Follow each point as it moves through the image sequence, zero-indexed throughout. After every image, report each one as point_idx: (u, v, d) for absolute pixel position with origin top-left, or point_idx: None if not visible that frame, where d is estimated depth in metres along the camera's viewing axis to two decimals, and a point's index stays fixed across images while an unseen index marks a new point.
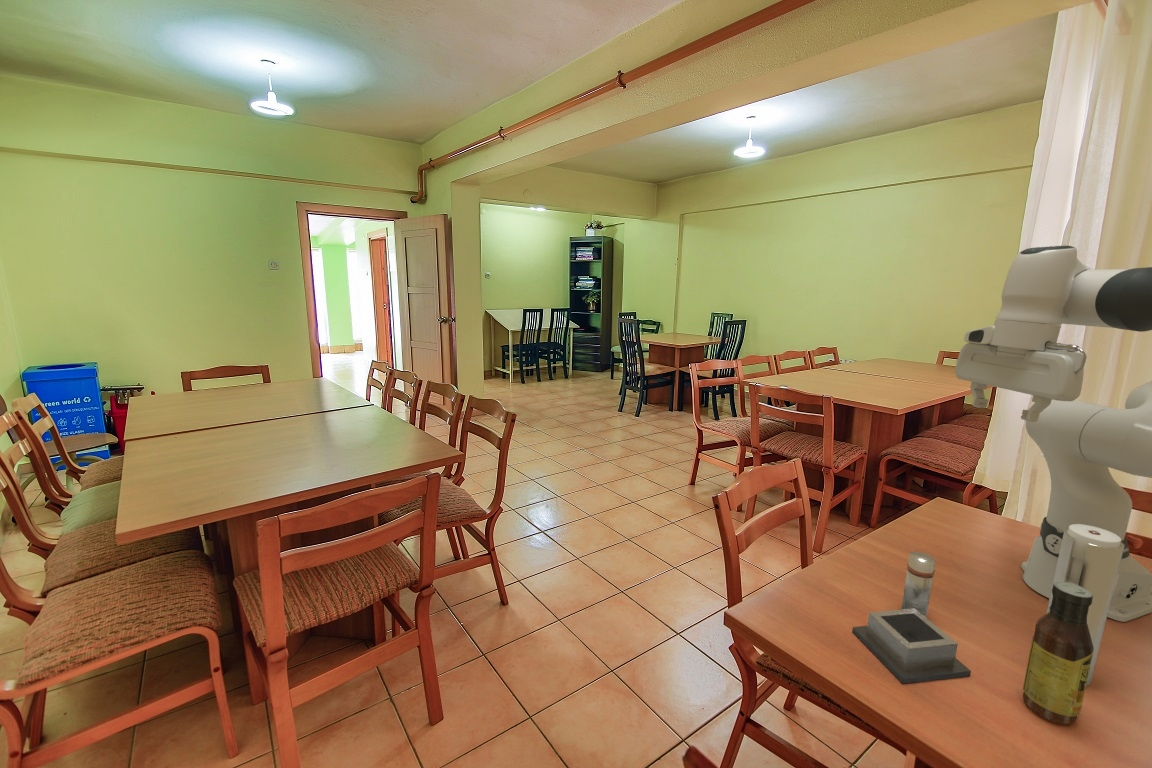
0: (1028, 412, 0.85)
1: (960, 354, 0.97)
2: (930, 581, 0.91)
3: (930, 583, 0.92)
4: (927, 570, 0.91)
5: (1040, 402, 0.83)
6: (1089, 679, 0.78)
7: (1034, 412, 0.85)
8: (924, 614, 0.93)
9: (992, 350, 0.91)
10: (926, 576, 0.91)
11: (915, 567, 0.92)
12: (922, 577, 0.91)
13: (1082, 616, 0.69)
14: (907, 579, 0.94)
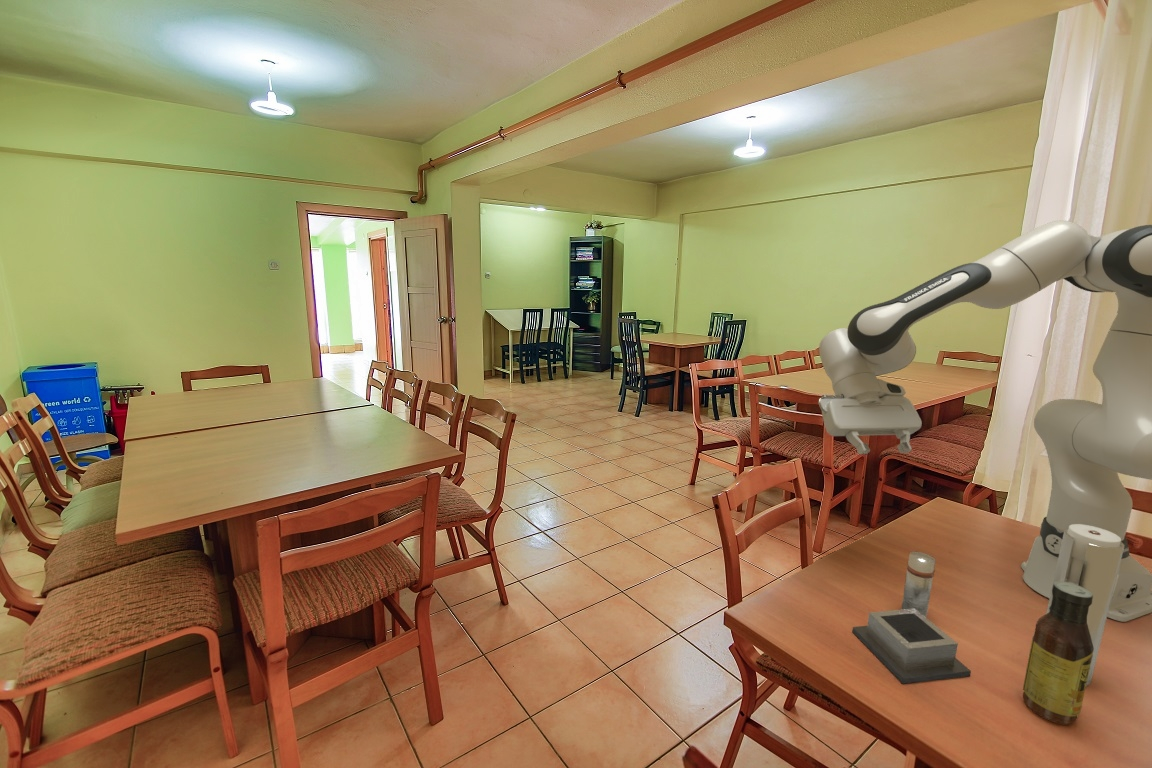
0: None
1: None
2: (930, 581, 0.91)
3: (930, 583, 0.92)
4: (927, 570, 0.91)
5: (847, 439, 1.02)
6: (1089, 679, 0.78)
7: (857, 446, 1.01)
8: (924, 614, 0.93)
9: None
10: (926, 576, 0.91)
11: (915, 567, 0.92)
12: (921, 577, 0.91)
13: (1082, 616, 0.69)
14: (907, 579, 0.94)
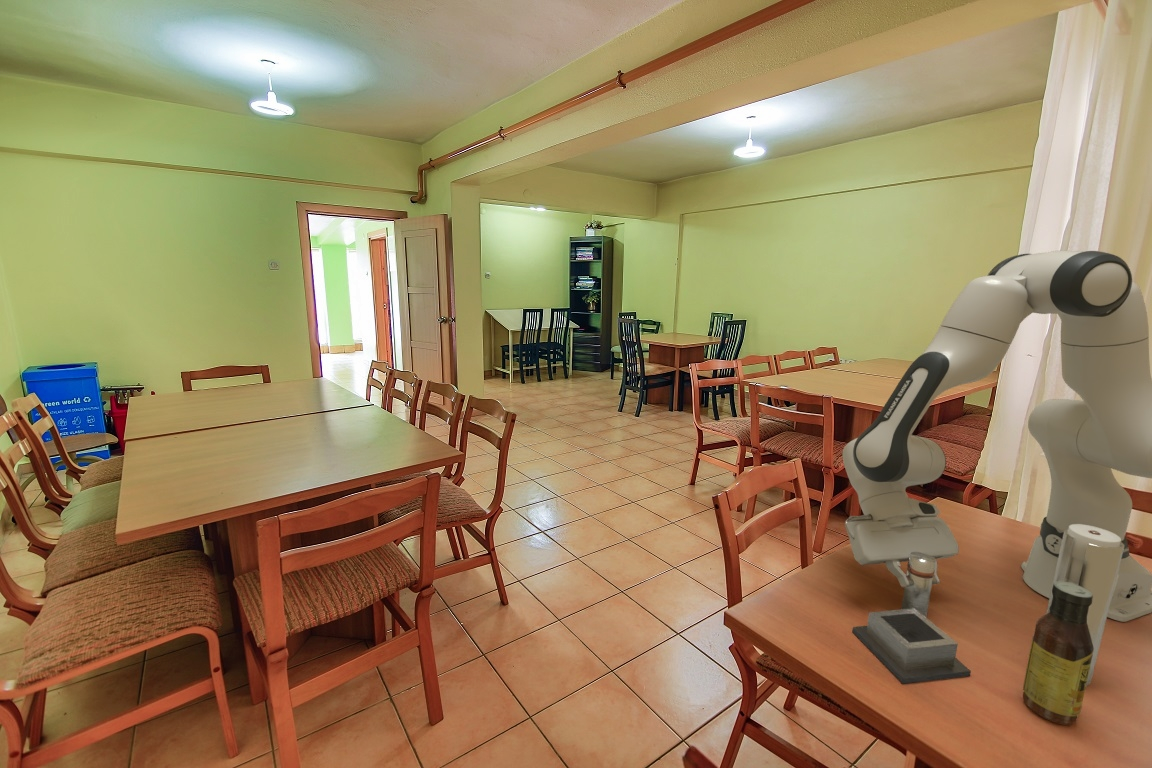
0: None
1: None
2: (930, 581, 0.91)
3: (930, 583, 0.92)
4: (927, 570, 0.91)
5: None
6: (1089, 679, 0.78)
7: (899, 577, 0.94)
8: (924, 614, 0.93)
9: None
10: (926, 576, 0.91)
11: (915, 567, 0.92)
12: (922, 577, 0.91)
13: (1082, 616, 0.69)
14: None
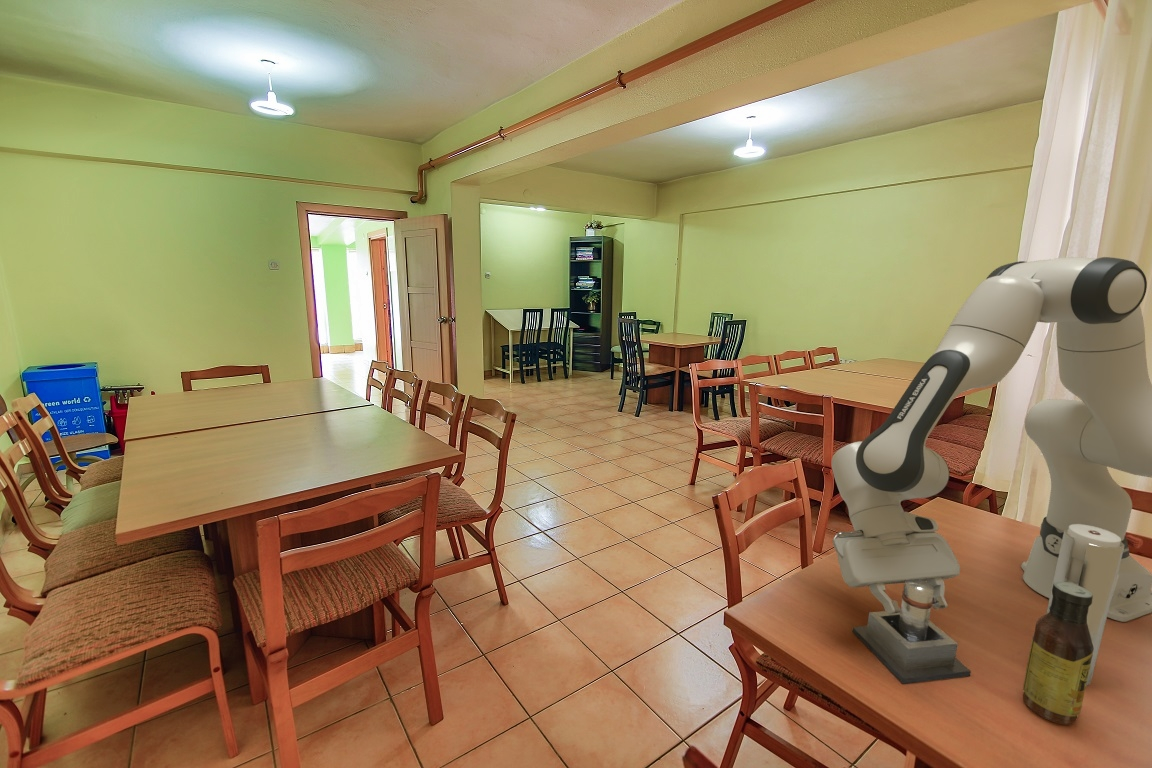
0: None
1: None
2: (928, 612, 0.81)
3: (928, 614, 0.82)
4: (924, 600, 0.81)
5: (871, 591, 0.85)
6: (1089, 679, 0.78)
7: (884, 602, 0.83)
8: None
9: None
10: (923, 606, 0.81)
11: (911, 596, 0.82)
12: (918, 607, 0.81)
13: (1082, 616, 0.69)
14: (902, 609, 0.84)
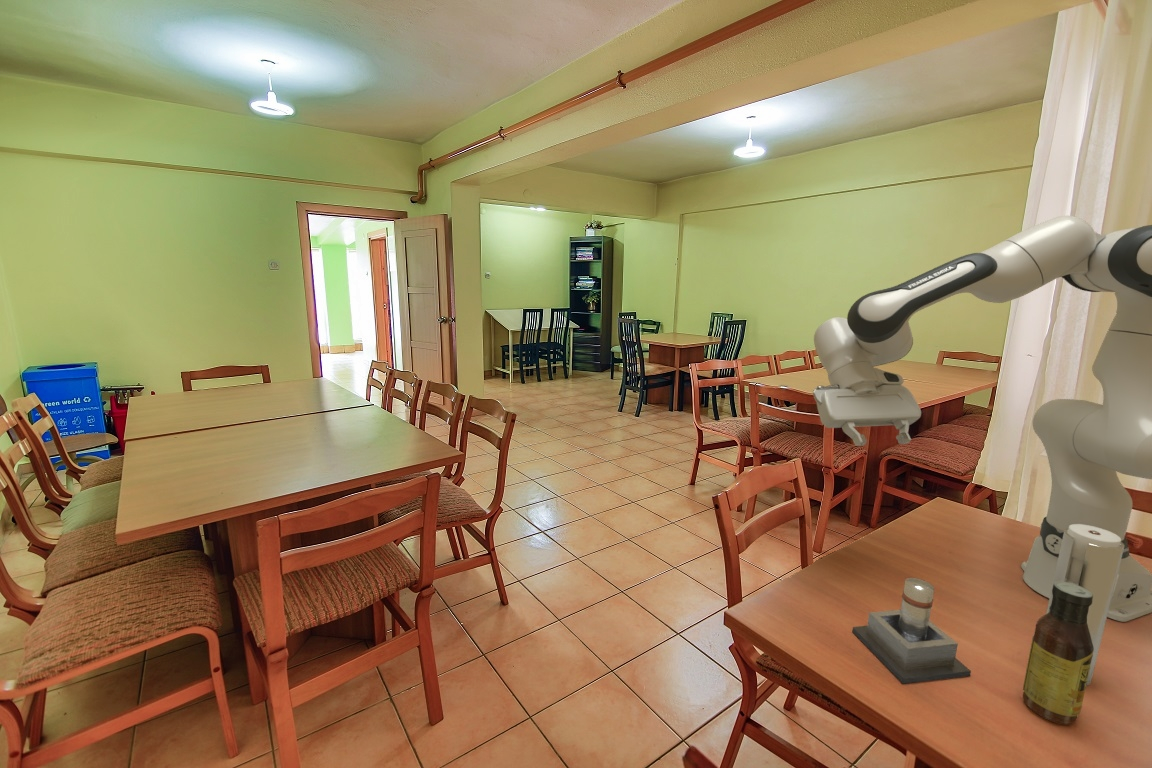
0: None
1: None
2: (928, 612, 0.81)
3: (928, 614, 0.82)
4: (924, 599, 0.81)
5: (843, 430, 0.99)
6: (1089, 679, 0.78)
7: (853, 437, 0.98)
8: None
9: None
10: (923, 606, 0.81)
11: (911, 596, 0.82)
12: (918, 607, 0.81)
13: (1082, 616, 0.69)
14: (902, 608, 0.84)
